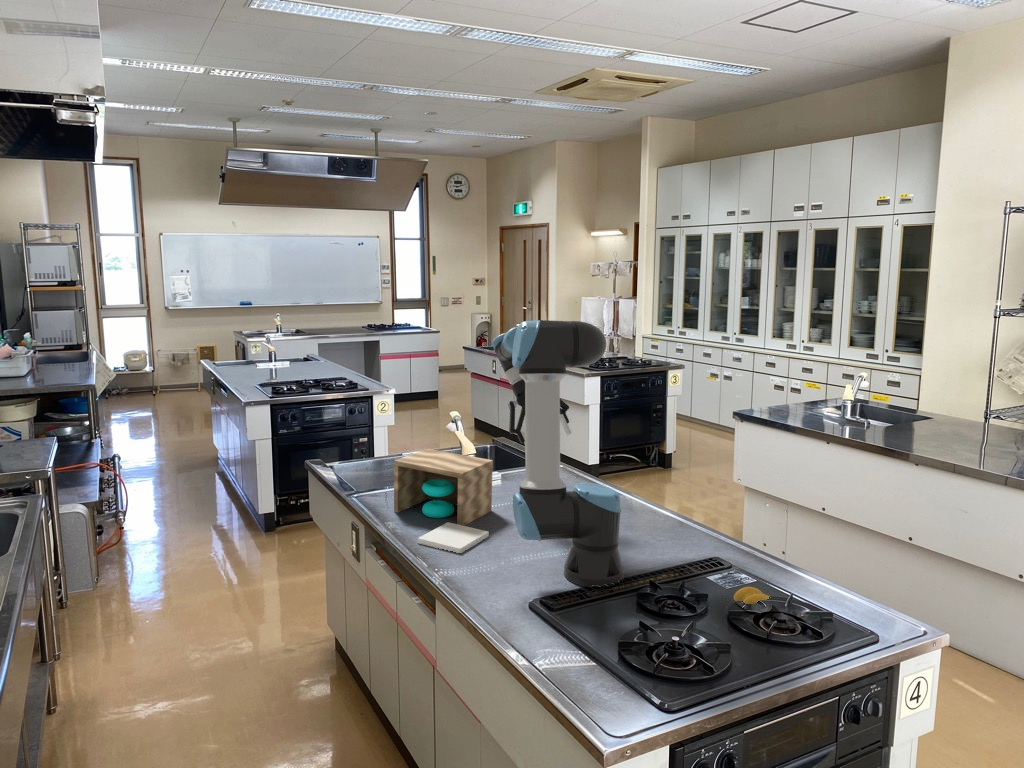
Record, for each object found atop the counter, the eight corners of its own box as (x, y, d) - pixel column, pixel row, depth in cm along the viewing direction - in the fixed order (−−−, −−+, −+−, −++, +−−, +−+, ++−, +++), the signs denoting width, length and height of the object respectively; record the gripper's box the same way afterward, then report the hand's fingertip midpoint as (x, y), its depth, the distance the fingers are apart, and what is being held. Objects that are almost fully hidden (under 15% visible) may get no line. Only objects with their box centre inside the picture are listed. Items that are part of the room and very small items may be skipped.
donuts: (460, 480, 231) (445, 489, 222) (459, 511, 233) (444, 521, 224) (432, 476, 235) (416, 484, 226) (431, 506, 237) (416, 516, 227)
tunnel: (461, 527, 219) (462, 473, 216) (394, 511, 231) (394, 460, 228) (491, 510, 234) (492, 460, 231) (426, 496, 246) (427, 448, 243)
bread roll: (752, 618, 168) (753, 601, 168) (727, 600, 177) (729, 585, 176) (781, 612, 171) (782, 596, 171) (756, 596, 180) (757, 580, 179)
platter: (460, 554, 199) (460, 548, 199) (417, 543, 206) (417, 538, 206) (488, 536, 212) (488, 531, 212) (447, 527, 219) (447, 522, 219)
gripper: (554, 369, 236) (582, 429, 233) (483, 398, 230) (511, 460, 227) (559, 363, 229) (588, 425, 226) (487, 392, 223) (515, 457, 220)
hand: (550, 443), depth 227 cm, fingers open, 13 cm apart
